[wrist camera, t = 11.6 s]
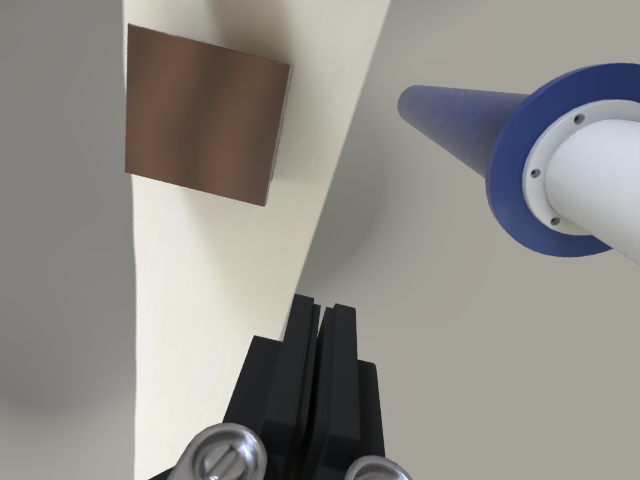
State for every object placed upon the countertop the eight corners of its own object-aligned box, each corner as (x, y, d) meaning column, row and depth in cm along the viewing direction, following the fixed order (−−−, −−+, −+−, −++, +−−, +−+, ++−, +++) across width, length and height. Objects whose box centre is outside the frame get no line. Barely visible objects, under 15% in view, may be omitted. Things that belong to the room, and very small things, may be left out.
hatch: (292, 65, 26) (290, 65, 25) (266, 203, 30) (264, 206, 29) (133, 24, 26) (127, 23, 25) (130, 170, 30) (124, 172, 29)
